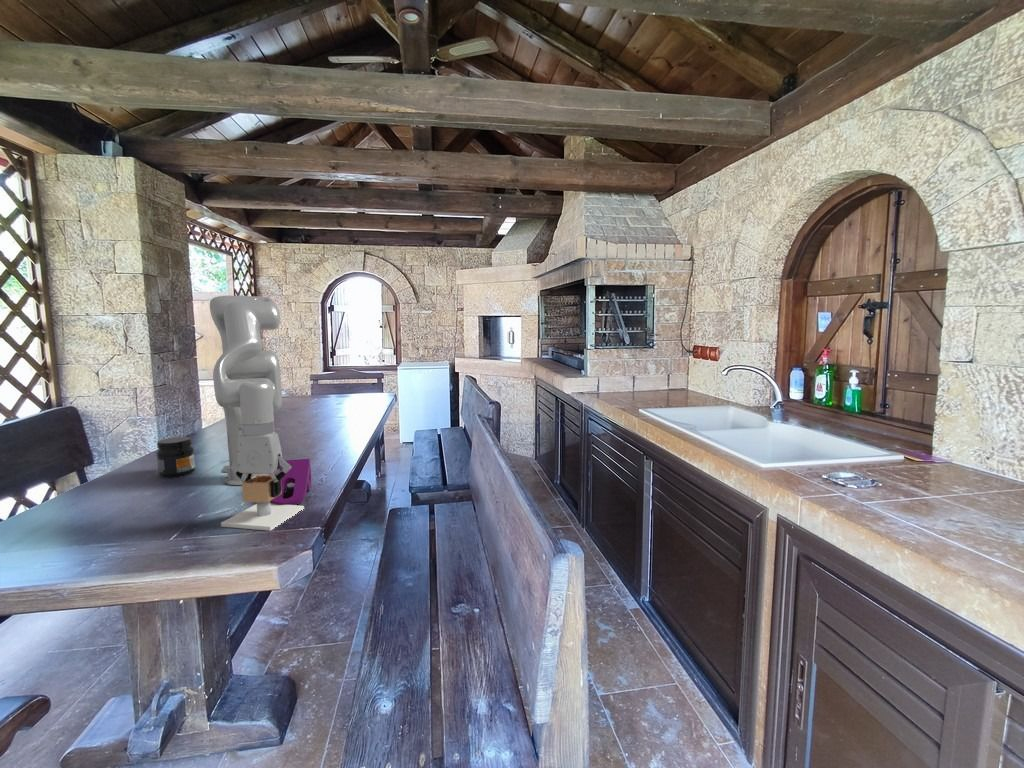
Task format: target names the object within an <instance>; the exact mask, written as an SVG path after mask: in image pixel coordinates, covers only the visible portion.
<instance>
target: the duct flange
mask: <svg viewBox="0 0 1024 768" xmlns="http://www.w3.org/2000/svg"><path fill="white" fill-rule="evenodd" d="M303 509H304V510H305V505H299V504H298V505H277V504H272V502H271V501H269V502H256V504H253V505H252V506H250V507H248V508H246V509H245V510H242V511H240V512H238V513H237V514H235V515H233V516H231V517H229V518H227V519H225V520H224V521H221V522H220V527H222V528H233V529H235V528H236V529H245V530H257V531H258V530H259V531H269V532H270V531H272V530H274V529H275V527H276V528H277V527H279V526H280V525H282V524H283V523H285V522H286V520H287V519H288V520H289V518H290V519H292V518H293V517H294V516H296V515H297V513H298V512H299V511H301V510H302V511H304V510H303ZM302 511H301V512H302ZM299 513H300V512H299ZM299 513H298V514H299ZM295 514H296V515H295ZM292 516H293V517H292ZM288 520H287V521H288ZM284 521H285V522H284ZM281 523H282V524H281ZM278 525H279V526H278Z"/></svg>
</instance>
